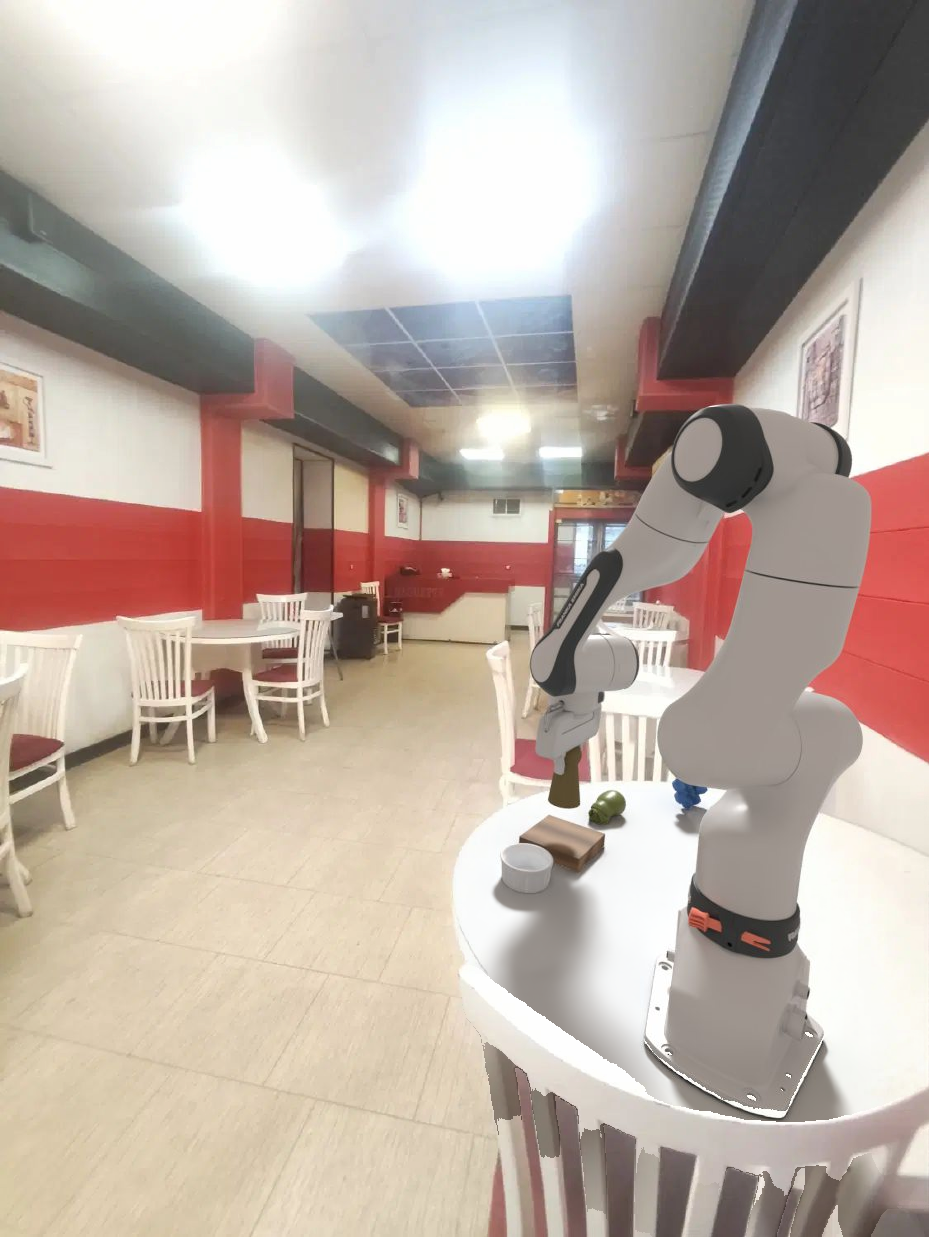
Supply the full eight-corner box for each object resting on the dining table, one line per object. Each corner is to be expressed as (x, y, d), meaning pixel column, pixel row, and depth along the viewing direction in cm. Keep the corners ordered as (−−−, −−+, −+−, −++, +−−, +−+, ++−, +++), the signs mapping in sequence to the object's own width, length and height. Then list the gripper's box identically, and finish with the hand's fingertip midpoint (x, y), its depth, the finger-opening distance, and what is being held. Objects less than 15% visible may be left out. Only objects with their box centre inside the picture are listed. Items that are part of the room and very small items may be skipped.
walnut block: (578, 872, 94) (579, 859, 94) (518, 849, 101) (519, 836, 101) (604, 846, 104) (605, 833, 104) (548, 826, 111) (548, 814, 111)
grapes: (690, 822, 116) (695, 768, 115) (662, 810, 121) (667, 758, 120) (719, 810, 123) (723, 759, 122) (691, 799, 128) (695, 750, 127)
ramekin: (560, 893, 88) (562, 867, 88) (509, 899, 86) (511, 873, 85) (538, 864, 97) (540, 840, 96) (491, 869, 94) (493, 845, 94)
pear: (630, 791, 117) (604, 811, 111) (631, 813, 118) (604, 834, 112) (608, 783, 121) (581, 801, 115) (609, 804, 122) (582, 823, 116)
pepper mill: (579, 796, 105) (583, 741, 103) (581, 810, 99) (585, 752, 97) (547, 793, 105) (551, 738, 104) (547, 806, 100) (551, 748, 98)
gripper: (562, 710, 90) (556, 791, 91) (608, 691, 106) (603, 759, 108) (529, 703, 93) (524, 780, 95) (578, 685, 110) (573, 751, 111)
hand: (566, 769), depth 101 cm, fingers closed on pepper mill, 4 cm apart
